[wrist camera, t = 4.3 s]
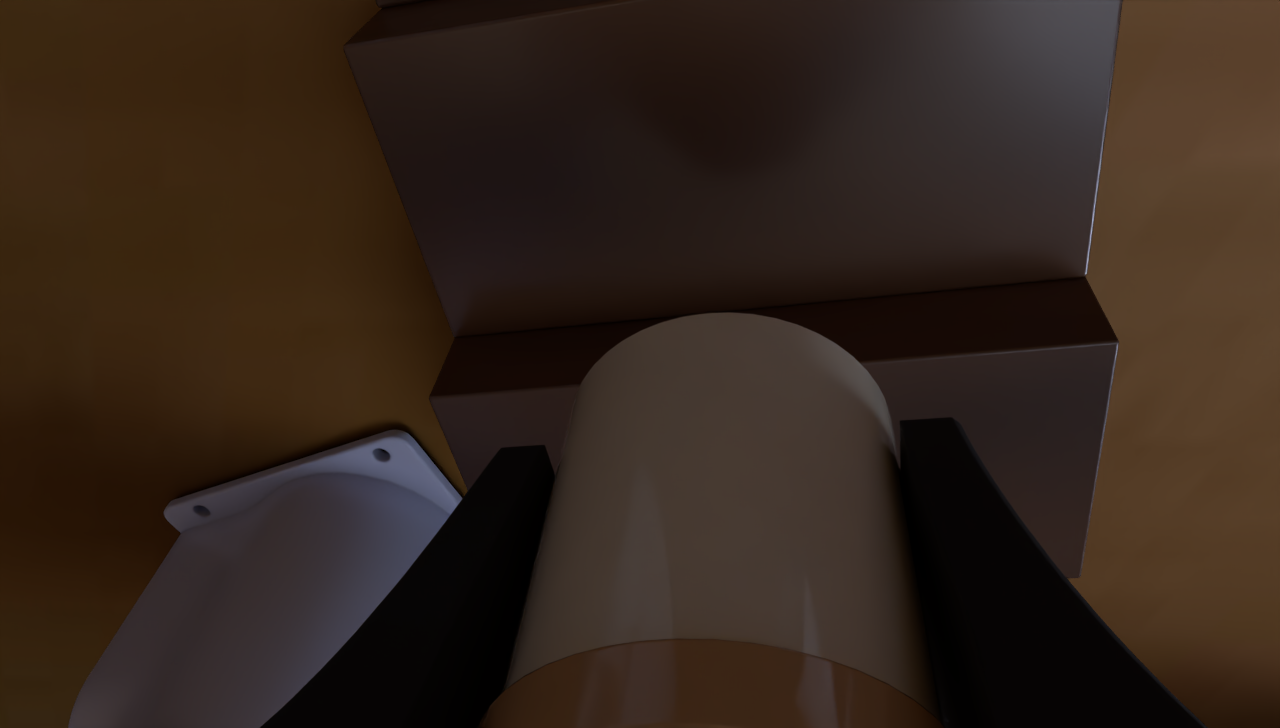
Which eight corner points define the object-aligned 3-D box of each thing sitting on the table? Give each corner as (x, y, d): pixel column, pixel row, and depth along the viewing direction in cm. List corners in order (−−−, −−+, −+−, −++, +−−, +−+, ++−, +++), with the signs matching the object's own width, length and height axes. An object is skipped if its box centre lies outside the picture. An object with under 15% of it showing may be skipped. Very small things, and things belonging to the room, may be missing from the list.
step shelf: (1027, 425, 24) (1081, 579, 20) (549, 457, 26) (513, 599, 22) (1131, -668, 12) (1313, -820, 8) (252, -422, 14) (65, -447, 11)
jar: (646, 579, 15) (598, 981, 10) (496, 364, 12) (348, 773, 8) (943, 513, 13) (1039, 956, 9) (840, 249, 10) (899, 682, 6)
